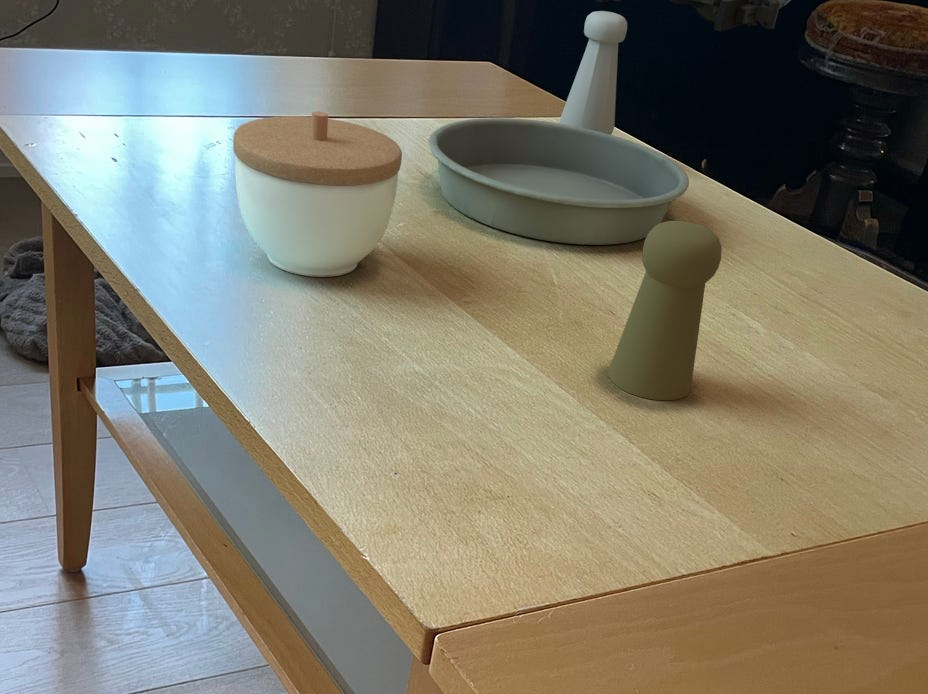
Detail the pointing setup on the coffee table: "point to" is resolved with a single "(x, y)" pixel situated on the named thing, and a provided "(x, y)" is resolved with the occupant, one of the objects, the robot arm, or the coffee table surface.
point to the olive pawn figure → (666, 312)
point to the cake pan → (554, 180)
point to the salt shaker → (596, 75)
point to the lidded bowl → (315, 190)
